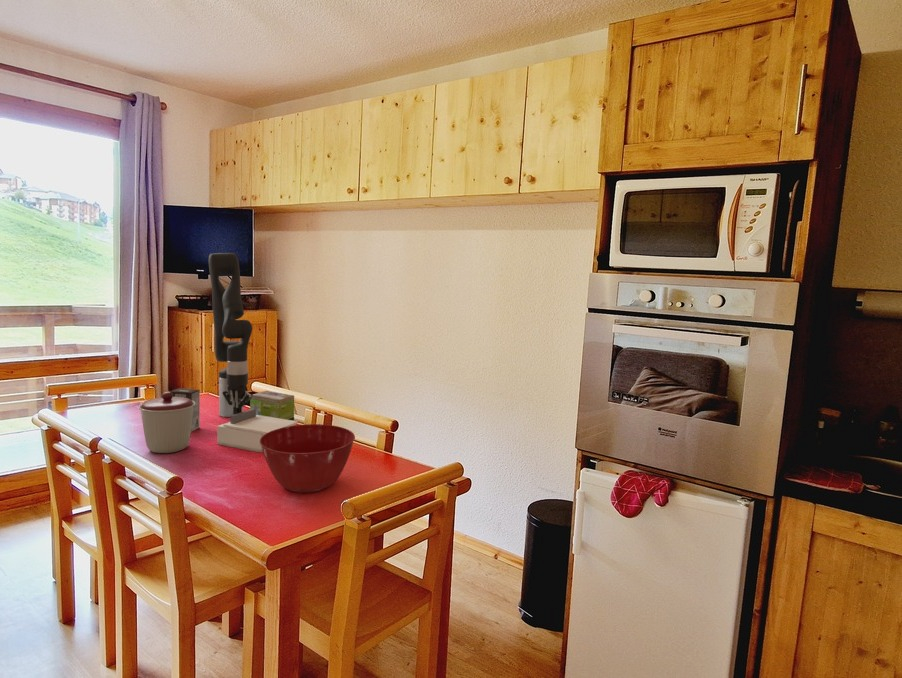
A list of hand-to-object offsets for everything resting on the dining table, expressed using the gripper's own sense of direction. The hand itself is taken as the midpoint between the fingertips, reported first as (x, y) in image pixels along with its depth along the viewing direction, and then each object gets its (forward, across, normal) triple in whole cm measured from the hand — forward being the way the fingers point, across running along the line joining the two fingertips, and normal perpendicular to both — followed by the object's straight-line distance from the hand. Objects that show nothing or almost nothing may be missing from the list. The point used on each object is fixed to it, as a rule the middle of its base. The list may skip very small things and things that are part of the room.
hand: (237, 416), depth 209 cm
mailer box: (+9, -8, 0) cm, 12 cm away
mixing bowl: (+9, -50, +24) cm, 56 cm away
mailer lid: (+2, -11, 0) cm, 11 cm away
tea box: (+9, -2, -17) cm, 20 cm away
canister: (+9, +13, +20) cm, 26 cm away
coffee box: (+9, +28, -1) cm, 29 cm away
